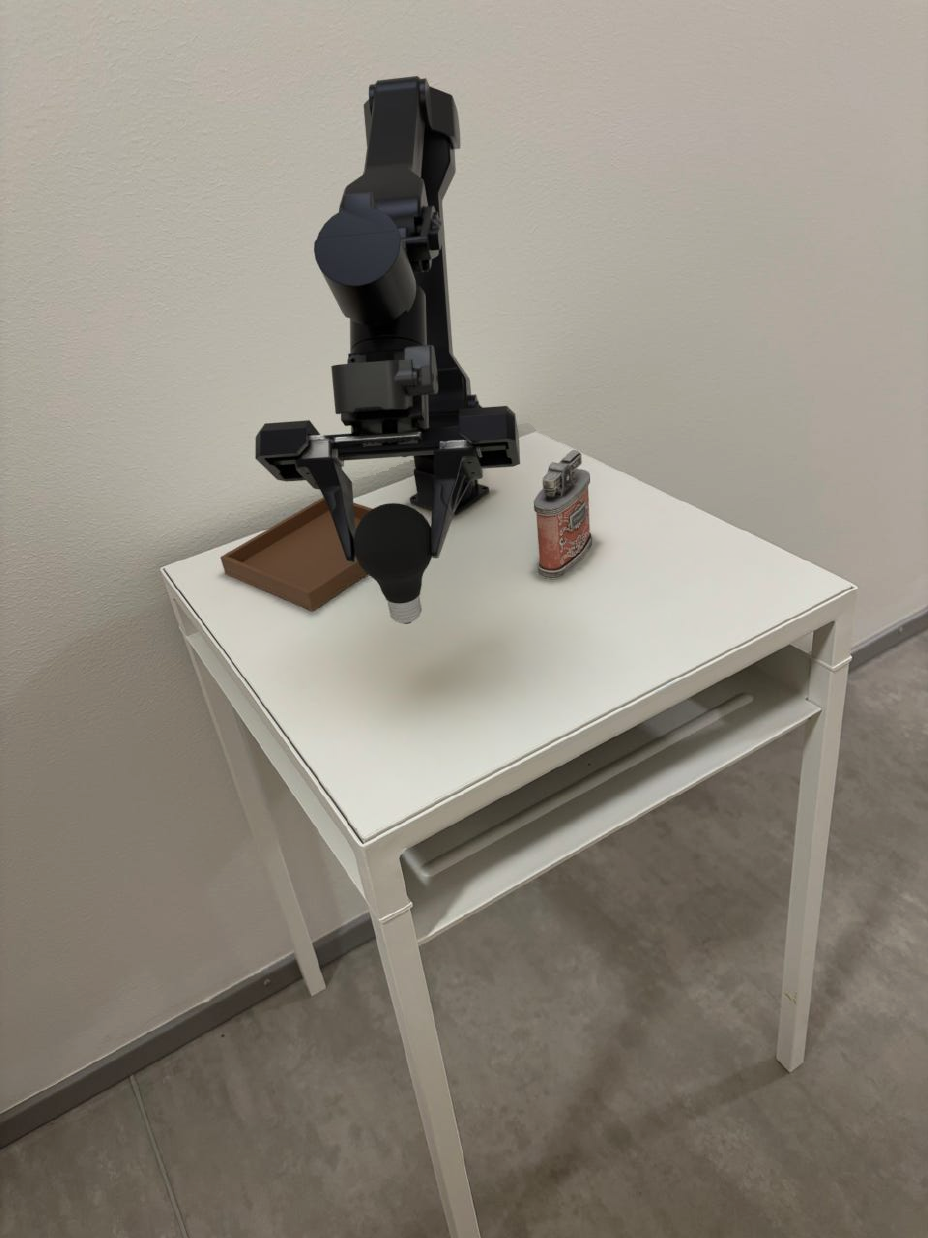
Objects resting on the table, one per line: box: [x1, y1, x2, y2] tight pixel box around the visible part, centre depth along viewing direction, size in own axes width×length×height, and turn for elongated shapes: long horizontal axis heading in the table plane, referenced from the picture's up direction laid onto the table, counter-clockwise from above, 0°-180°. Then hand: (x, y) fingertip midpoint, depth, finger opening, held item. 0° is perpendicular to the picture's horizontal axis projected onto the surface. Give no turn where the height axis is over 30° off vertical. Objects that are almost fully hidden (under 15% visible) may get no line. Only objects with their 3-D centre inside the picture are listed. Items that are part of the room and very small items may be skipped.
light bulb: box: [353, 502, 433, 625], centre depth 70 cm, size 6×6×10 cm
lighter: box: [533, 449, 593, 580], centre depth 88 cm, size 8×3×10 cm, turn 148°
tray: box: [220, 496, 373, 612], centre depth 96 cm, size 15×13×2 cm
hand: (392, 559), depth 68 cm, fingers closed on light bulb, 6 cm apart
